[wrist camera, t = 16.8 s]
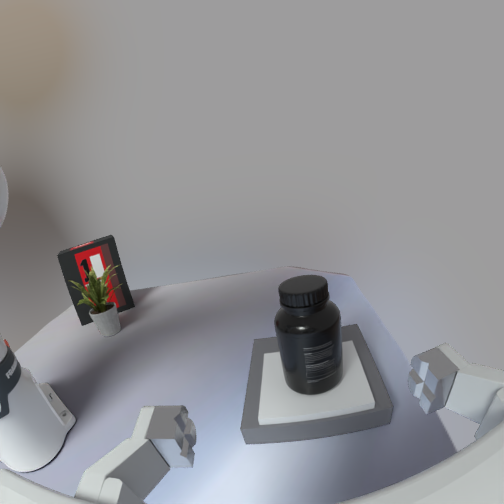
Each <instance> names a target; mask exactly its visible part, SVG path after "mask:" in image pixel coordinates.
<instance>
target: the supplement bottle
mask: <svg viewBox="0 0 504 504" xmlns="http://www.w3.org/2000/svg"><path fill="white" fill-rule="evenodd" d="M279 296H280V305H281V308H280V310H279V311H278V312H277V314H276V316H275V320H274V324H275V331H276V336H277V341H278V347H279V352H280V357H281V363H282V368H283V373H284V378H285V382H286V384H287V386H288V387H289V388H290V389H291V390H293V391H295V392H297V393H299V394H303V395H317V394H322V393H325V392H327V391H329V390H331V389H332V388H334V387H335V386H336V385H337V384H338V383H339V382H340V380H341V378H342V375H343V350H342V330H341V316H340V311H339V309H338V307H337V306H336V305H335V304H334V303H333V302H332V301H330V300H329V292H328V284H327V280H326V279H325V278H324V277H322V276H317V275H303V276H297V277H293V278H290V279H288V280H286V281H284V282H283V283H281V284H280V286H279Z"/></svg>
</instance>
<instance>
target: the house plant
mask: <svg viewBox="0 0 504 504" xmlns="http://www.w3.org/2000/svg"><path fill="white" fill-rule="evenodd" d="M110 266H111V265H110ZM110 266H108V267H107V268H106V269H105V271H104V273H103V276H101V277H102V278H101V277H100V278H98V280H97V276H96V273H95V271H94V269H93V268H92V267H91V270H92V271H91V270H90V272H89V274H88V273H87V272H86V271H85V270H84V269H83V270H84V271H85V272H86V274H87V276H88V278H89V281H88V283H89V285H88V284H87V290H88V291H87V290H86V289H85V288H84V287H83V286H82V285H80V284H79V283H77V282H74V281H70V280H68V281H70V282H72V283H74V284H75V285H76V286H77V287H79V288H80V289H81V290H82V291H81V290H80V289H78V288H76V287H74V288H76V289H78V290H79V291H81V292H83V293H84V294H85V295H87V296H88V297H89V298H90V299H91V300H92V301H93V302H94V303H95V304H96V305H95V304H94V303H93V302H92V301H90V300H89V299H88V298H87V297H86V296H85V295H84V294H83V293H82V295H83V298H84V299H82V300H79V303H78V304H77V305H79V304H82V303H85V304H87V305H89V306H90V307H91V308H92V309H91V310H90V311H89V315H90V316H91V318H92V320H93V321H94V323H95V325H96V326H97V328H98V330H99V331H100V333H101V335H102V336H104V337H110V336H113V335H115V334H117V333H118V332H119V331H120V330H121V327H120V322H119V317H118V313H117V308H116V304H115V302H110V301H109V302H107V299H108V298H109V295H108V294H109V292H110V291H111V290H113V289H115V288H119V287H118V286H120V285H122V284H120V285H118V286H117V287H114V288H112V289H110V290H109V291H108V289H109V288H107V285H108V283H109V280H110V278H111V277H112V276H113V275H112V276H111V277H110V278H109V280H108V282H107V283H106V284H105V282H106V279H107V277H108V275H109V273H110V272H111V271H112V270H113V269H114V268H115V267H117V266H115V267H113V268H112V269H111V270H108V268H109V267H110ZM118 266H119V265H118ZM108 271H109V272H108ZM107 273H108V274H107ZM114 275H116V274H114ZM100 280H101V281H100ZM72 287H73V286H72ZM115 290H116V289H115ZM115 290H114V292H115ZM107 291H108V293H107ZM114 292H113V293H114ZM89 293H90V294H89ZM112 295H113V294H112ZM111 297H112V296H111ZM110 300H111V298H110Z"/></svg>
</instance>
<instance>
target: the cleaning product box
mask: <svg viewBox="0 0 504 504" xmlns="http://www.w3.org/2000/svg"><path fill="white" fill-rule="evenodd" d="M58 259H59V263H60V266H61V269H62V272H63V275H64V278H65V282H66V284H67V287H68V290H69V293H70V296H71V299H72V301H73V304H74V307H75V309H76V312H77V314H78V317H79V319H80V322H81V324H82V326H83V325H86V324H89V323H91V322H94V321H93V320H92V318H91V316H90V315H89V311H90V310H91V309H92V308H91V307H90V306H89V305H87V304H85V303H82V304H79V305H77V304H78V303H79V300H82V299H84V298H83V295H82V293H83V292H81V291H82V290H81V289H80V288H79V287H77V286H76V285H75V284H74V283H72V282H70V281H74V282H77V283H79V284H80V285H82V286H83V287H84V288H85V289H86V290H87V284H88V285H89V283H88V281H89V278H88V276H87V274H86V272H87V273H88V274H89V272H90V270H91V267H92V268H93V269H94V271H95V273H96V276H97V280H98V278H100V277H101V276H103V273H104V271H105V269H106V268H107V267H108V266H110V265H111V266H110V267H109V268H108V270H111V269H112V268H113V267H115V266H117V267H115V268H114V269H113V270H112V271H111V272H110V273H109V275H108V277H107V279H106V282H105V284H106V283H107V282H108V280H109V278H110V277H111V276H112V275H113V276H112V277H111V278H110V280H109V283H108V285H107V288H109V289H108V291H109V290H110V289H112V288H114V287H117V286H118V285H120V284H122V285H120V286H118V287H119V288H115V289H116V290H115V289H113V290H111V291H110V292H109V294H108V295H109V298H108V299H107V302H109V301H110V302H115V304H116V308H117V313H119V312H122V311H125V310H128V309H130V308H133V307H135V305H134V302H133V299H132V296H131V293H130V290H129V287H128V285H127V282H126V278H125V275H124V271H123V268H122V265H121V261H120V258H119V254H118V251H117V247H116V243H115V240H114V237H113V236H112V235H109V236H106V237H103V238H100V239H96V240H94V241H90V242H87V243H84V244H81V245H78V246H75V247H72V248H69V249H66V250H63V251H60V253H59V254H58ZM118 265H119V266H118ZM83 269H84V270H85V271H86V272H85V271H84V270H83ZM91 271H92V270H91ZM108 272H109V271H108ZM107 274H108V273H107ZM114 274H116V275H114ZM101 278H102V277H101ZM68 280H70V281H68ZM100 281H101V280H100ZM72 286H73V287H72ZM74 287H76V288H78V289H80V290H81V291H79V290H78V289H76V288H74ZM114 290H115V292H114ZM87 291H88V290H87ZM108 291H107V293H108ZM113 292H114V293H113ZM83 294H84V293H83ZM89 294H90V293H89ZM112 294H113V295H112ZM84 295H85V294H84ZM85 296H86V297H87V298H88V299H89V300H90V301H92V300H91V299H90V298H89V297H88V296H87V295H85ZM111 296H112V297H111ZM110 298H111V300H110ZM92 302H93V301H92ZM93 303H94V302H93ZM94 304H95V303H94ZM95 305H96V304H95Z"/></svg>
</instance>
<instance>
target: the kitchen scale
mask: <svg viewBox="0 0 504 504" xmlns="http://www.w3.org/2000/svg"><path fill="white" fill-rule="evenodd" d="M341 330H342V350H343V375H342V378H341V380H340V382H339V383H338V384H337V385H336V386H335V387H334V388H332V389H331V390H329V391H327V392H325V393H322V394H317V395H303V394H299V393H297V392H295V391H293V390H291V389H290V388H289V387H288V386H287V384H286V382H285V378H284V373H283V368H282V363H281V357H280V352H279V347H278V341H277V337H271V338H263V339H254V344H253V351H252V358H251V364H250V371H249V377H248V384H247V390H246V397H245V403H244V409H243V416H242V422H241V428H240V430H241V432H242V435H243V438H244V440H245V443H246V444H265V443H280V442H291V441H301V440H309V439H317V438H323V437H330V436H336V435H341V434H347V433H352V432H357V431H361V430H366V429H370V428H374V427H378V426H382V425H386V424H390V420H391V415H392V410H393V405H392V403H391V400H390V398H389V395H388V393H387V390H386V388H385V386H384V383H383V381H382V378H381V376H380V374H379V371H378V369H377V367H376V365H375V362H374V360H373V358H372V356H371V353H370V351H369V349H368V347H367V344H366V342H365V340H364V338H363V336H362V334H361V331H360V329H359V327H358V325H357V324H354V325H349V326H343V327H341Z"/></svg>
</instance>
